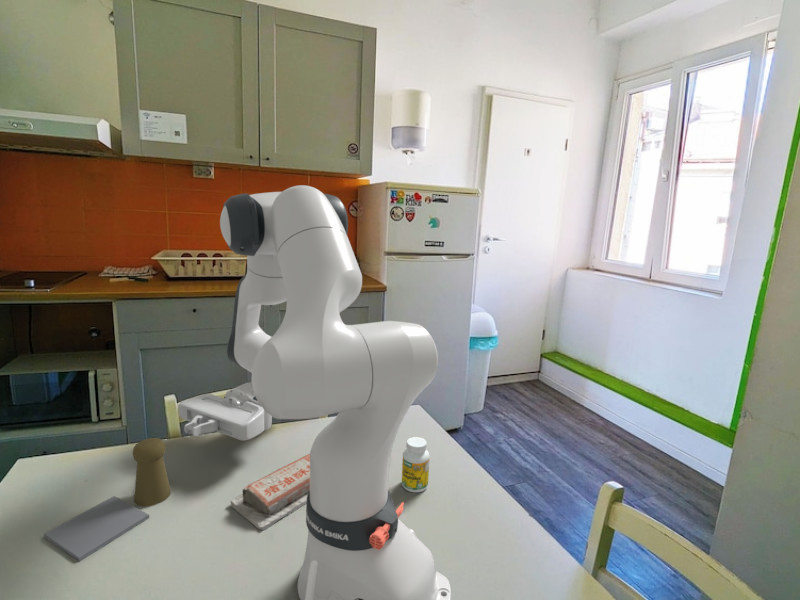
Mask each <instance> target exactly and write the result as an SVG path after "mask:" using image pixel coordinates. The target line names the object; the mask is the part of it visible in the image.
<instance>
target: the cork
mask: <svg viewBox="0 0 800 600" xmlns="http://www.w3.org/2000/svg"><path fill="white" fill-rule="evenodd" d="M165 453H166V443H165V442H164V441H163V440H162V439H161V438H157V437H151V438H146V439H143V440H140V441H139V442H137V443H136V444H135V446H134V447H133V449H132V458H133V460H134V461H135V462H136V469H135V470H136V473H135V482H134V483H135V485H134V498H133V502H134V504H135V505H136V506H138V507H145V508H146V507H151V506H156V505H158V504H160V503H162V502H164V501H165V500H167V499H168V498H169V497H170V495H171V493H172V489H171V486H170V482H169V477H168V473H167V469H166V465H165V460H164V455H166V454H165Z"/></svg>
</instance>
